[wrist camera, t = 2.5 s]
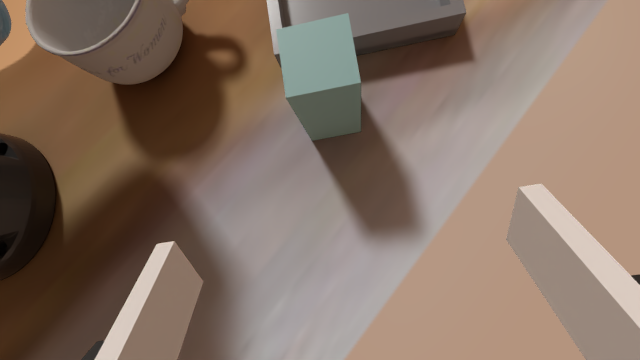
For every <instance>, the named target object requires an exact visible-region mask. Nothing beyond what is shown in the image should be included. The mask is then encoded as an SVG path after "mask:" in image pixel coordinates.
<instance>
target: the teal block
mask: <svg viewBox="0 0 640 360" xmlns="http://www.w3.org/2000/svg"><path fill="white" fill-rule="evenodd" d="M276 32H277V39H278V46H279V53H280V60H281V67H282V74H283V81H284V88H285V95H286V99H287V100H288V102H289V104H290V105H291V107H292V109H293V110H294V112H295V114H296V115H297V117H298V118H299V120H300V122H301V123H302V125H303V127H304V128H305V130H306V132H307V133H308V135H309V137H310V138H311V140H312V141H314V140H319V139H324V138H330V137H335V136H340V135H346V134H351V133H357V132H361V80H360V74H359V69H358V63H357V58H356V53H355V47H354V42H353V36H352V31H351V25H350V20H349V14H348V13H346V14H342V15H337V16H333V17H328V18H324V19H320V20H315V21H311V22H307V23H302V24H298V25H293V26H289V27H285V28H280V29H276Z"/></svg>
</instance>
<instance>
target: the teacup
mask: <svg viewBox="0 0 640 360" xmlns="http://www.w3.org/2000/svg"><path fill="white" fill-rule="evenodd" d="M188 1H189V0H27V2H26V24H27V26H28V29H29V32H30V34H31V36H32V38H33V39H34V40H35V42H36V43H37V44H38V45H39V46H40V47H42V48H43V49H45V50H46V51H48V52H50V53H52V54H55V55H58V56H60V57H62V58H64V59H65V60H67V61H69V62H71V63H72V64H74V65H76V66H78V67H80V68H81V69H83V70H85V71H87V72H89V73H91V74H93V75H95V76H97V77H99V78H101V79H104V80H106V81H109V82H113V83H117V84H126V85H129V84H138V83H142V82H145V81H148V80H150V79H152V78H154V77H156V76H157V75H159V74H160V73H162V72H163V71H164V70H165V69H166V68H167V67H168V66H169V65H170V64H171V63H172V61H173V60H174V58H175V57H176V55H177V53H178V51H179V49H180V46H181V42H182V36H183V24H182V19H181V17H182V15H183V14H185V12H186V4H187V2H188Z"/></svg>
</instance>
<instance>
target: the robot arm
mask: <svg viewBox="0 0 640 360" xmlns="http://www.w3.org/2000/svg"><path fill="white" fill-rule="evenodd" d="M10 30H11V19H10V15H9V12H8V10H7V8H6V6H5V4H4V3H3V1H2V0H0V45H1V44H2V43H3V42H4V41H5V40H6V39H7V37H8V36H9V33H10ZM54 209H55V185H54V180H53V176H52V173H51V170H50V168H49V165H48V163H47V162H46V160H45V158H44V157H43V156H42V154H41V153H40V152H39V151H38V150H37V149H36V148H35V147H34V146H33V145H31V144H30V143H28V142H27V141H25V140H23V139H20V138H17V137H13V136H9V135H5V134H1V133H0V280H2V279H5V278H7V277H9V276H11V275H12V274H14V273H16V272H17V271H18V270H20V269H21V268H22V267H23V266H25V265H26V264H27V263H28V262H29V261H30V260H31V259H32V257H33V256H34V255H35V254H36V252H37V251H38V250H39V248H40V247H41V245H42V243H43V242H44V240H45V238H46V236H47V234H48V231H49V229H50V226H51V223H52V219H53V215H54ZM506 240H507V241H508V243H509V244H510V246H511V247H512V249H513V250H514V252H515V253H516V255H517V256H518V258H519V259H520V261H521V262H522V264H523V265H524V267H525V268H526V270H527V271H528V273H529V274H530V276H531V278H532V279H533V281H534V282H535V284H536V285H537V287H538V288H539V290H540V291H541V293H542V294H543V296H544V297H545V298H546V300H547V302H548V303H549V305H550V306H551V308H552V309H553V311H554V312H555V314H556V315H557V317H558V318H559V320H560V321H561V323H562V324H563V326H564V327H565V329H566V330H567V332H568V333H569V335H570V336H571V338H572V339H573V341H574V342H575V344H576V345H577V347H578V348H579V350H580V351H581V353H582V354H583V356H584V357H585V359H586V360H640V275H632V276H631V275H629V273H628V272H627V271H626V270H625V269H624V268H623V267H622V266H621V265H620V264H619V263H618V262H617V261H616V260H615V259H614V258H613V257H612V256H611V255H610V254H609V253H608V252H607V251H606V250H605V249H604V248H603V247H602V246H601V245H600V244H599V243H598V242H597V240H595V238H594V237H593V236H592V235H591V234H590V233H589V232H588V231H587V230H586V229H585V228H584V227H583V226H582V225H581V224H580V223H579V222H578V221H577V220H576V219H575V218H574V217H573V216H572V215H571V214H570V213H569V212H568V211H567V210H566V209H565V208H564V207H563V206H562V204H561V203H560V202H559V201H558V200H557V199H556V198H555V197H554V196H553V195H552V194H551V193H550V192H549V191H548V190H547V189H546V188H545V187H544V186H543V185H542V184H536V185H530V186H524V187H518V192H517V196H516V200H515V204H514V209H513V213H512V217H511V222H510V226H509V230H508V234H507V239H506ZM202 285H203V280H202V279H201V278H200V276H199V275H198V273H197V272H196V271H195V269H194V268H193V266H192V265H191V263H190V262H189V261H188V259H187V258H186V256H185V255H184V254H183V252H182V251H181V249H180V248H179V247H178V245H177V244H176V242H175V241H172V242H165V243H159V244H156V246H155V248H154V250H153V252H152V254H151V256H150V257H149V259H148V261H147V263H146V265H145V267H144V269H143V270H142V272H141V274H140V276H139V278H138V280H137V282H136V283H135V285H134V287H133V289H132V291H131V293H130V295H129V296H128V298H127V300H126V302H125V304H124V306H123V308H122V310H121V311H120V313H119V315H118V317H117V319H116V321H115V323H114V324H113V326H112V328H111V330H110V332H109V334H108V336H107V337H106V339H105V341H98V342H96V343H95V345H94V346H93V347H92V348H91V349H90V350H89V351H88V353H87V354H86V355H85V356H84V357H83V358H82V360H177V359H178V356H179V353H180V350H181V347H182V344H183V341H184V338H185V335H186V332H187V329H188V326H189V323H190V320H191V317H192V314H193V311H194V308H195V305H196V302H197V299H198V296H199V293H200V290H201V288H202Z"/></svg>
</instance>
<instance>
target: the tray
mask: <svg viewBox="0 0 640 360" xmlns="http://www.w3.org/2000/svg"><path fill="white" fill-rule="evenodd" d="M267 6H268V13H269V20H270V28H271V35H272V42H273V49H274V55H275V57H276V59H277V61H278V63H279V65H280V67H281V60H280V53H279V46H278V39H277V32H276V29H280V28H285V27H289V26H293V25H298V24H302V23H307V22H311V21H315V20H320V19H324V18H328V17H333V16H337V15H342V14H346V13H348V14H349V20H350V25H351V31H352V36H353V42H354V47H355V53H356V56H357V55H362V54H367V53H371V52H376V51H381V50H385V49H390V48H395V47H400V46H404V45H409V44H414V43H418V42H423V41H428V40H432V39H437V38H442V37H447V36H451V35H455V34H456V32H457V30H458V28H459V26H460V24H461V22H462V20H463V18H464V16H465V14H466V9H465V5H464V1H463V0H267ZM281 68H282V67H281Z"/></svg>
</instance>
